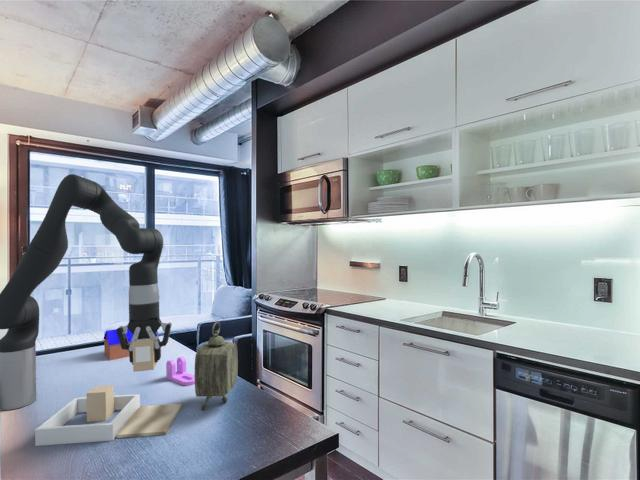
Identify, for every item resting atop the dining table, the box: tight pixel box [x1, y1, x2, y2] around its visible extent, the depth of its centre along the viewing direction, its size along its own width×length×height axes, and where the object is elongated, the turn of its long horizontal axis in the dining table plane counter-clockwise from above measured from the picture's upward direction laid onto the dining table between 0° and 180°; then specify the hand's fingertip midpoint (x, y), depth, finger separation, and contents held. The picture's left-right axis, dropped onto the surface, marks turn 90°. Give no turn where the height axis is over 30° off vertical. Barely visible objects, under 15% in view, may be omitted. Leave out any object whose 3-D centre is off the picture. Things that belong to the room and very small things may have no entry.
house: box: [102, 328, 160, 361], centre depth 163 cm, size 12×20×12 cm, turn 131°
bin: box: [34, 393, 141, 447], centre depth 99 cm, size 18×18×4 cm
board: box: [116, 403, 183, 439], centre depth 101 cm, size 12×16×1 cm
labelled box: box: [132, 338, 158, 373], centre depth 99 cm, size 5×5×8 cm
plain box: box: [86, 384, 115, 423], centre depth 104 cm, size 5×5×8 cm
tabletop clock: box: [194, 320, 239, 411], centre depth 112 cm, size 14×9×25 cm, turn 178°
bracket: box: [165, 356, 195, 387], centre depth 130 cm, size 13×6×7 cm, turn 54°
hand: (145, 362), depth 100 cm, fingers closed on labelled box, 5 cm apart
